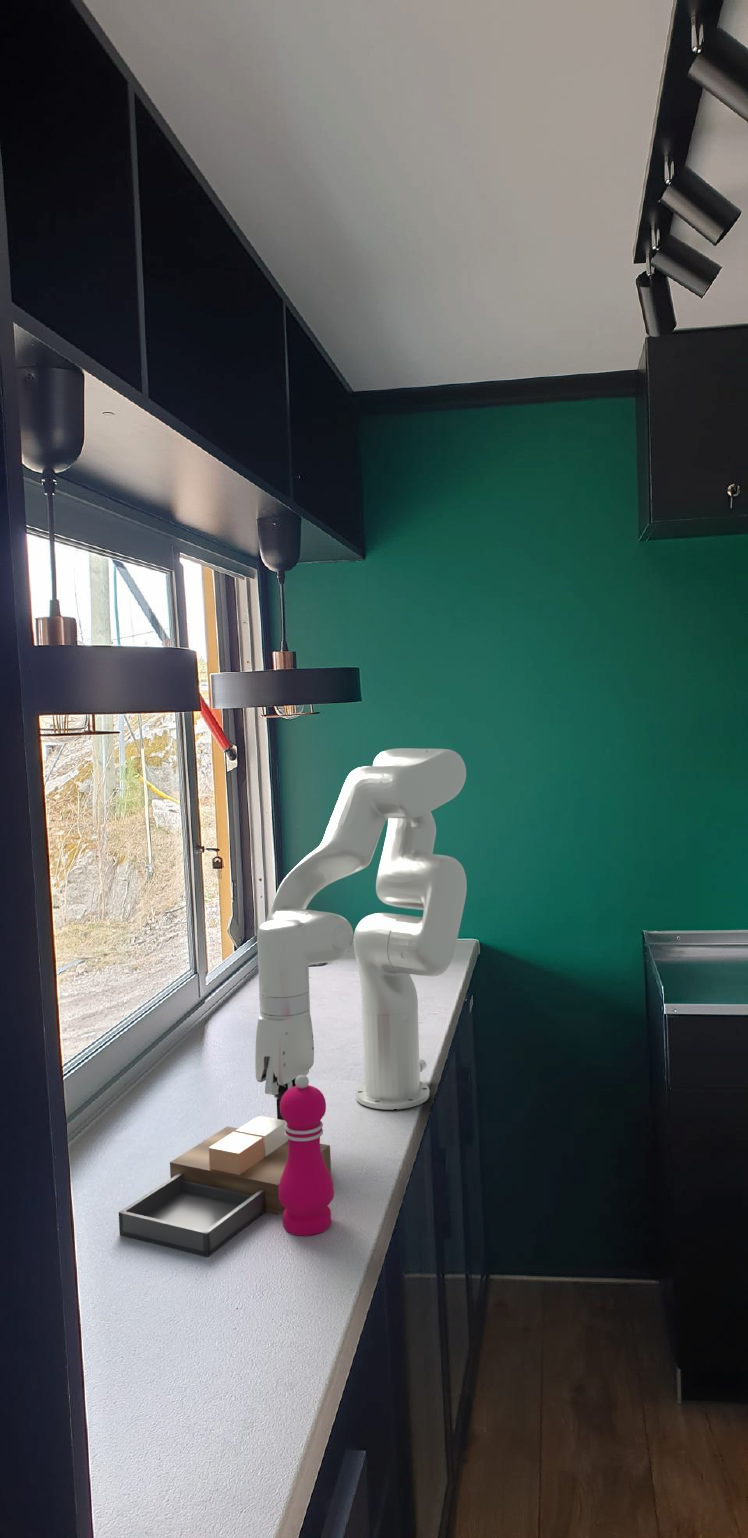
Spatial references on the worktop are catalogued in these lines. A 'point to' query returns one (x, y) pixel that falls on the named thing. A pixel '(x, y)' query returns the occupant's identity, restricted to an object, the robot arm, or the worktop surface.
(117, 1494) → the worktop surface
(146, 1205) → the bin
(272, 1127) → the tile cream
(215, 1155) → the tan rectangular block
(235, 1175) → the walnut block
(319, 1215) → the pepper mill
